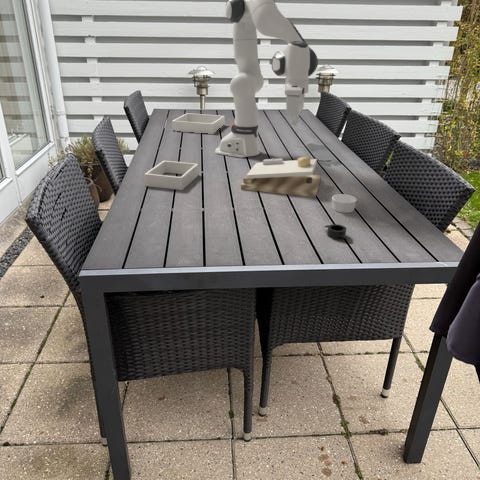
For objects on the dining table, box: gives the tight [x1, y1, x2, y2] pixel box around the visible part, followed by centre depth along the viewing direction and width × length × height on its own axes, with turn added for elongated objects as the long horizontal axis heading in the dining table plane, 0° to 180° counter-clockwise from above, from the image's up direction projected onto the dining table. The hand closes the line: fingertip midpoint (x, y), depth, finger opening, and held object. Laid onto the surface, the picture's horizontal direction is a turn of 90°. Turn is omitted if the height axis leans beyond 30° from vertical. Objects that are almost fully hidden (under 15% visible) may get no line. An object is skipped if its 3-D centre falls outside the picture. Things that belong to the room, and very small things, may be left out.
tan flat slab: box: [240, 166, 322, 198], centre depth 192 cm, size 30×22×4 cm
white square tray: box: [171, 112, 226, 135], centre depth 282 cm, size 25×25×6 cm
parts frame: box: [143, 160, 200, 191], centre depth 193 cm, size 16×20×5 cm
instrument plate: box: [246, 156, 318, 179], centre depth 189 cm, size 26×18×4 cm
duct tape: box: [323, 223, 351, 241], centre depth 149 cm, size 8×10×3 cm
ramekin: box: [331, 193, 358, 214], centre depth 169 cm, size 9×9×4 cm
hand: (295, 124), depth 183 cm, fingers closed
